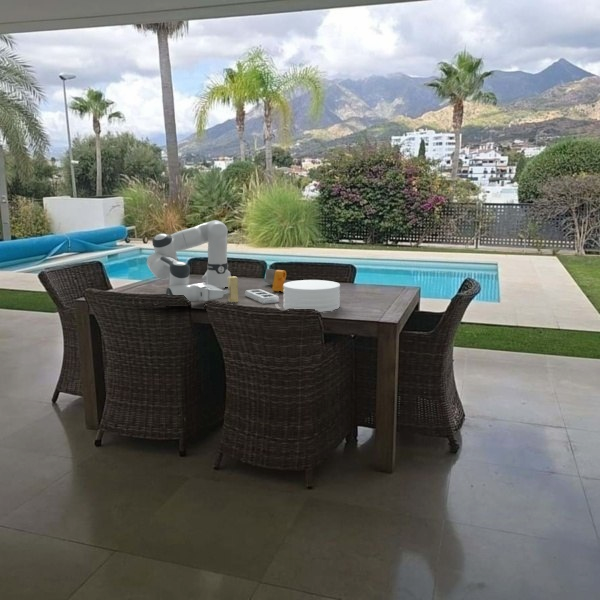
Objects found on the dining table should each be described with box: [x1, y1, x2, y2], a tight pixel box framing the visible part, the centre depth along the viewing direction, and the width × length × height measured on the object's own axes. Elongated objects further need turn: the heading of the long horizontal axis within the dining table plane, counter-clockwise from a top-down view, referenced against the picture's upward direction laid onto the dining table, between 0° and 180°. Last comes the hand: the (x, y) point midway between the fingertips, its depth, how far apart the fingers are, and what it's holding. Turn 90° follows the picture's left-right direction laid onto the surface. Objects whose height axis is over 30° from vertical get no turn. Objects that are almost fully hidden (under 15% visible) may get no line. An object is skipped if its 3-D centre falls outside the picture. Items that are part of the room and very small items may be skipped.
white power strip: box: [244, 288, 280, 305], centre depth 308 cm, size 24×9×3 cm, turn 27°
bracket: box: [271, 269, 287, 293], centre depth 330 cm, size 11×7×12 cm, turn 152°
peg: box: [227, 275, 239, 304], centre depth 300 cm, size 4×4×13 cm
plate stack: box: [282, 279, 341, 311], centre depth 288 cm, size 28×28×12 cm
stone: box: [264, 268, 286, 286], centre depth 348 cm, size 15×5×10 cm, turn 47°
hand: (225, 289), depth 298 cm, fingers open, 8 cm apart
